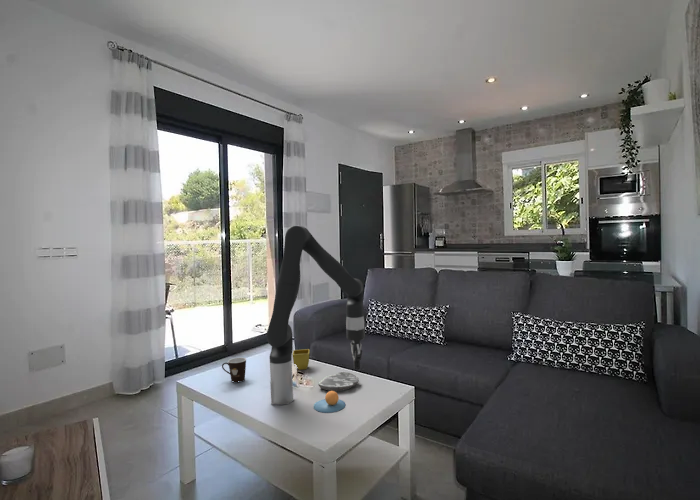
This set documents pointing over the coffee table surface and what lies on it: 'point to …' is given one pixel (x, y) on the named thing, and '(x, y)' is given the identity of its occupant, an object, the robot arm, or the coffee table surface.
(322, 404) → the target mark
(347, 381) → the brain slice
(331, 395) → the ball
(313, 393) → the coffee table surface
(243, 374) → the coffee mug
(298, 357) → the flower pot
